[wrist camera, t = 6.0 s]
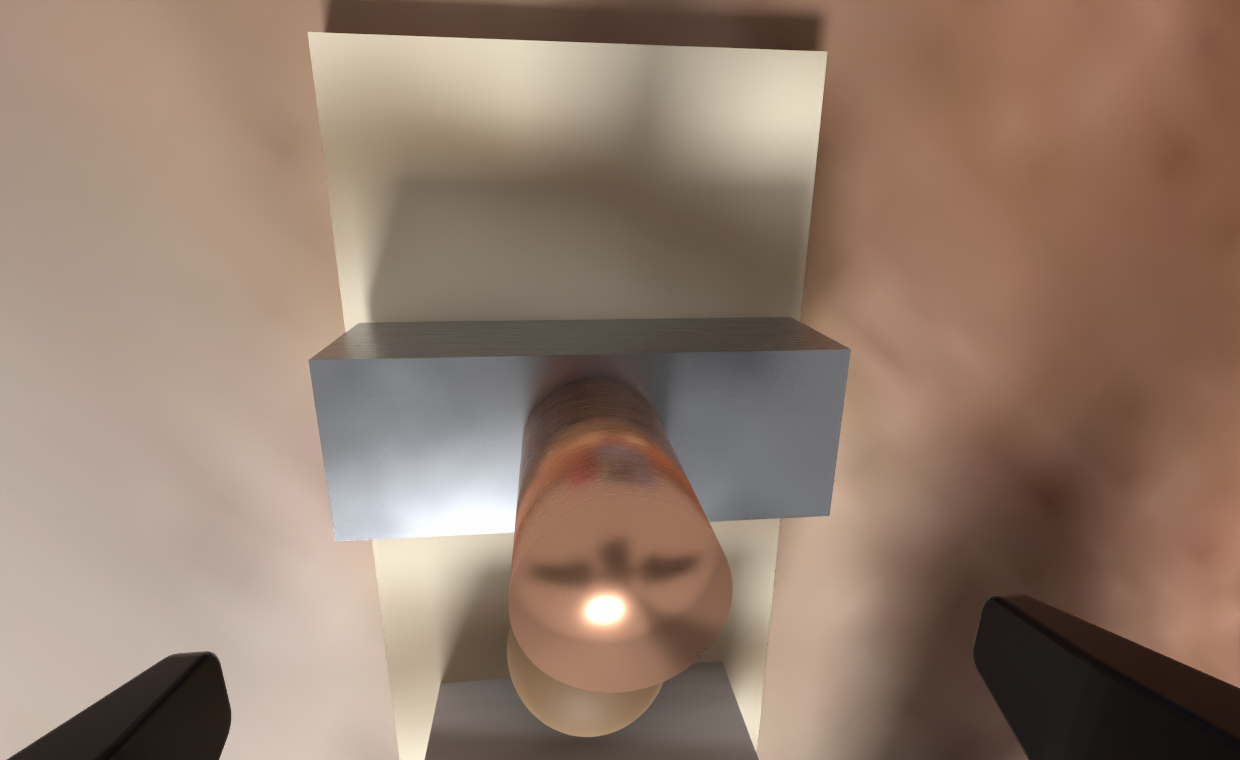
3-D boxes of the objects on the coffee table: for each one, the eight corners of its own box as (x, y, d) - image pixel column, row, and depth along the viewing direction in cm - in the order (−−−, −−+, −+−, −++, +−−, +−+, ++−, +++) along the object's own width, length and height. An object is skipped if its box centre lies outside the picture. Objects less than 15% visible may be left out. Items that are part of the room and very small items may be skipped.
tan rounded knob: (653, 646, 20) (683, 770, 16) (514, 656, 19) (505, 787, 15) (657, 525, 18) (690, 625, 14) (507, 533, 18) (496, 638, 14)
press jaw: (777, 455, 18) (978, 689, 9) (376, 470, 16) (209, 756, 8) (790, 316, 16) (1033, 448, 8) (358, 322, 15) (142, 484, 7)
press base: (747, 727, 23) (816, 910, 17) (409, 758, 21) (359, 969, 15) (810, 59, 16) (958, -11, 10) (323, 41, 15) (180, -49, 9)
